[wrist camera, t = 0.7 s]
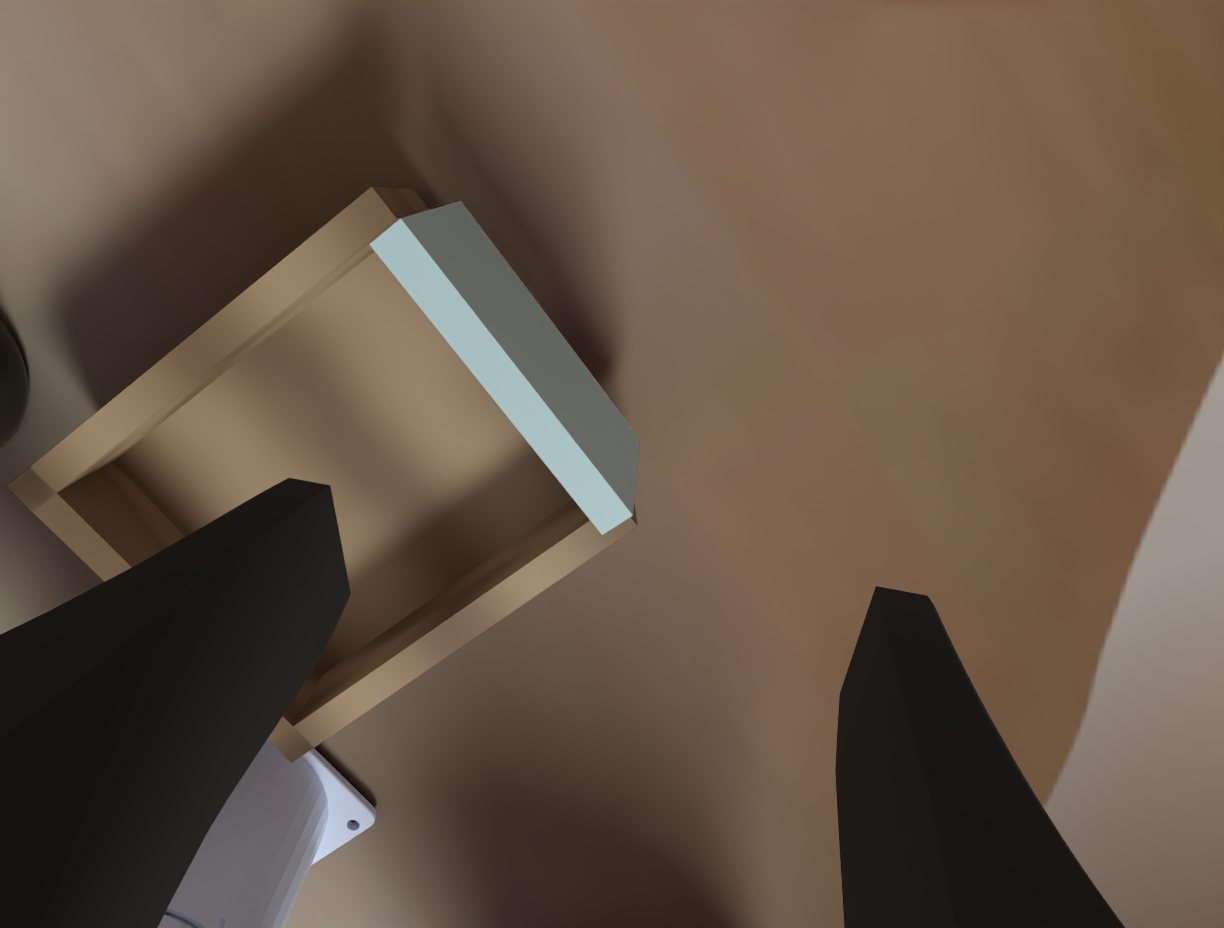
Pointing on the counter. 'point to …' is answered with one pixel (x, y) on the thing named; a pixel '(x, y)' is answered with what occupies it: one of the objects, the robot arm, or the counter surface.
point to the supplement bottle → (11, 386)
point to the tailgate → (517, 356)
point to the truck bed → (330, 464)
